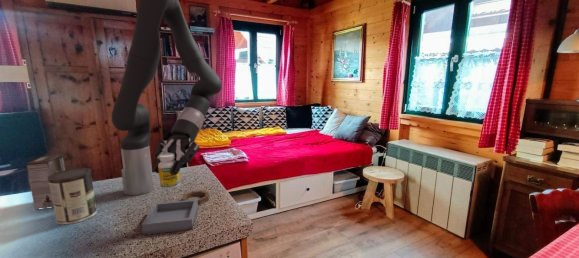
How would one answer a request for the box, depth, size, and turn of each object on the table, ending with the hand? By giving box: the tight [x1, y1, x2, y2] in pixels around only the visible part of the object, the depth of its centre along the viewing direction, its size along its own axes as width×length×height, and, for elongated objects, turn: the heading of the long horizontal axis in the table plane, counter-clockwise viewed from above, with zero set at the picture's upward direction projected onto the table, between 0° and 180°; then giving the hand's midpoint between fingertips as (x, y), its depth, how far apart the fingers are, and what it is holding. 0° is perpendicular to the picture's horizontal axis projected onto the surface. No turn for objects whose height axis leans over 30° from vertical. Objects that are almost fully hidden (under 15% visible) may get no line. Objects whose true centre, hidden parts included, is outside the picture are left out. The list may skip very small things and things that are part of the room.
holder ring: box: [181, 190, 210, 206], centre depth 94 cm, size 9×9×2 cm
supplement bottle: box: [158, 152, 181, 190], centre depth 78 cm, size 5×5×10 cm
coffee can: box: [47, 167, 98, 225], centre depth 82 cm, size 10×10×14 cm
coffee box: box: [25, 154, 67, 210], centre depth 91 cm, size 9×6×16 cm
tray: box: [141, 198, 199, 236], centre depth 80 cm, size 13×13×3 cm
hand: (164, 173), depth 76 cm, fingers closed on supplement bottle, 5 cm apart
